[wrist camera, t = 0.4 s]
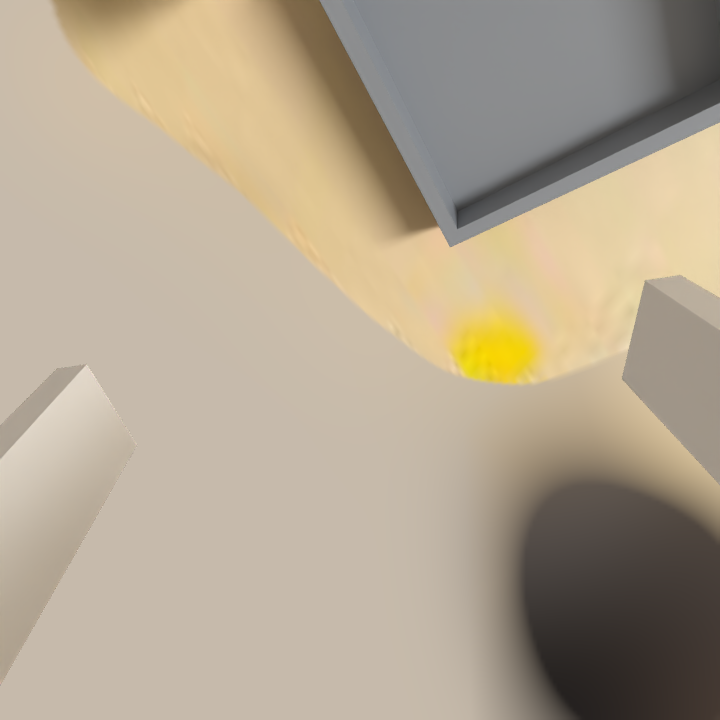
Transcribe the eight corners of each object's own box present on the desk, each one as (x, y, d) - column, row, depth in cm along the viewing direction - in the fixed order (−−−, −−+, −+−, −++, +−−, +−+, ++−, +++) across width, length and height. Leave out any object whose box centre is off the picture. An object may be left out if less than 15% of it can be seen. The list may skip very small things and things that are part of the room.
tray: (694, -412, 16) (748, -500, 13) (738, 81, 25) (776, 96, 22) (315, -42, 24) (296, -44, 21) (451, 223, 33) (450, 247, 30)
